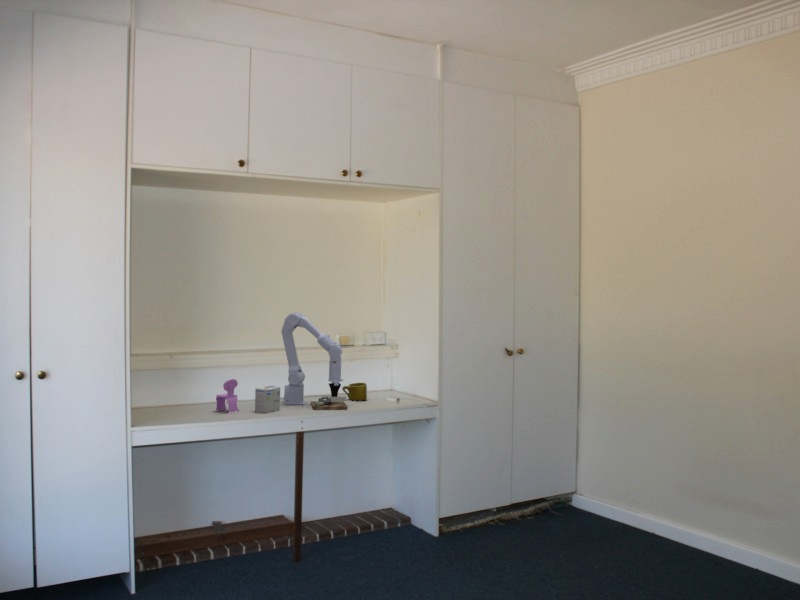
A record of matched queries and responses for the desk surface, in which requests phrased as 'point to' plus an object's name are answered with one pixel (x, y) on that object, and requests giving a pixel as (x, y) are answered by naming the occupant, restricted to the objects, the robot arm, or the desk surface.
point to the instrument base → (329, 405)
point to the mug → (356, 391)
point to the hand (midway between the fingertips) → (334, 398)
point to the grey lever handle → (331, 399)
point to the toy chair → (228, 396)
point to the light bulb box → (267, 399)
